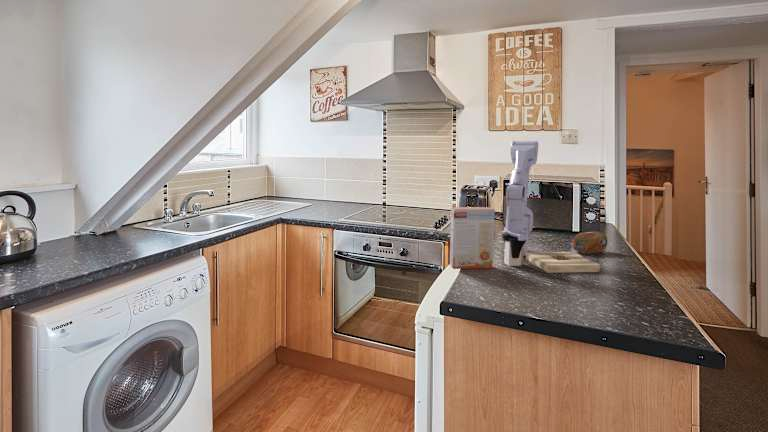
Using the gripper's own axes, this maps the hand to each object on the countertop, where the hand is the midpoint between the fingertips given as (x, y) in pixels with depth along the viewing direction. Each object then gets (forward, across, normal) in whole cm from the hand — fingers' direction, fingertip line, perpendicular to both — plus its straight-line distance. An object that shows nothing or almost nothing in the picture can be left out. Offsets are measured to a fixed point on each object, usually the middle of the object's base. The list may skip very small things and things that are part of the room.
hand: (512, 256), depth 150 cm
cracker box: (+3, +3, -16) cm, 17 cm away
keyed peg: (+3, 0, 0) cm, 3 cm away
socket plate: (+3, +2, +17) cm, 17 cm away
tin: (+3, -16, +38) cm, 41 cm away
